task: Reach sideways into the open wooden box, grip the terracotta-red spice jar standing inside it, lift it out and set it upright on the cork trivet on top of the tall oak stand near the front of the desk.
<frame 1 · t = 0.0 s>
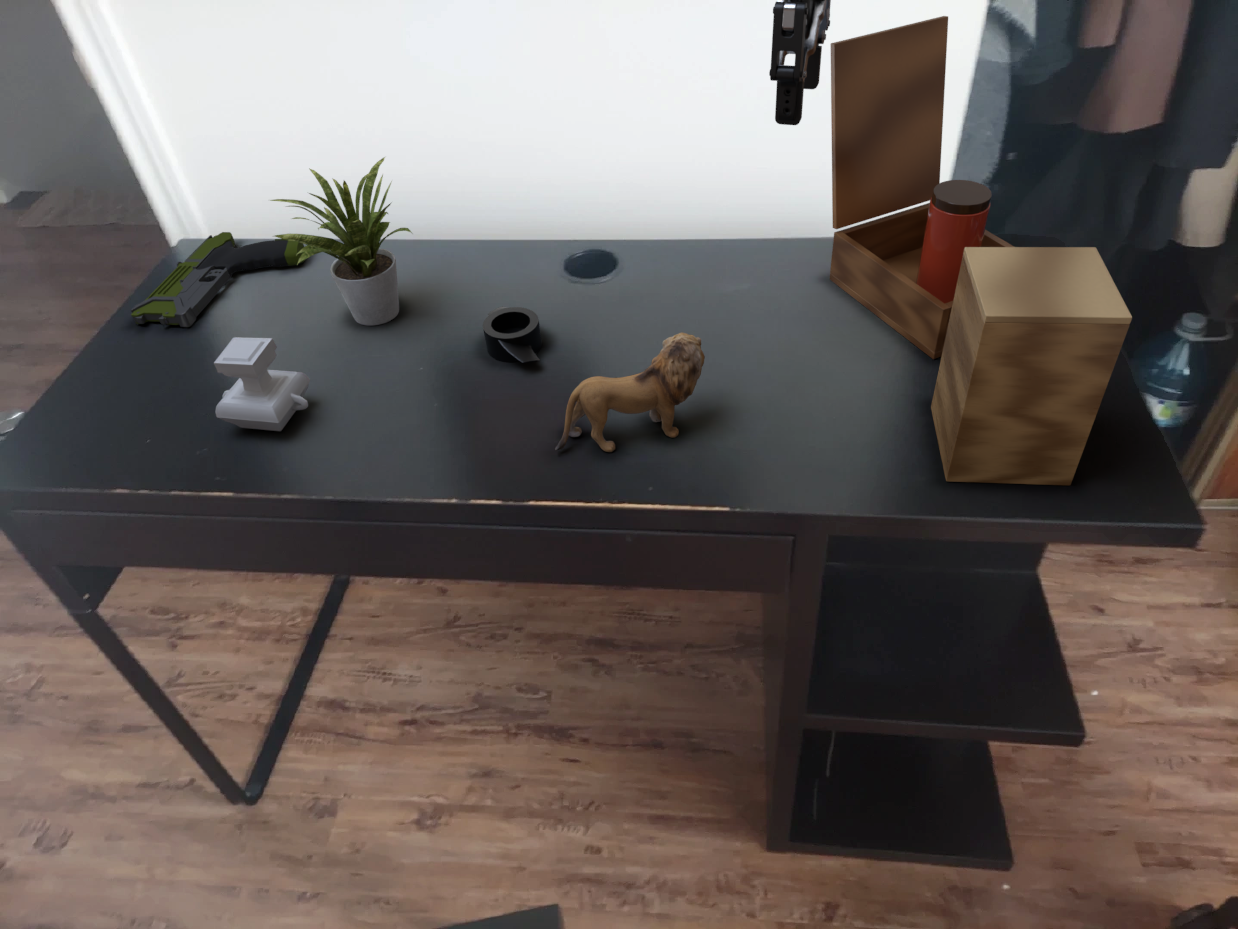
hand: (797, 104, 83), 22 cm above the table, tool pointing down, fingers open, 8 cm apart
wooden box: (930, 298, 98), on the table
box lid: (877, 123, 96), point 15 cm above the table, hinge at 100.0°
gun: (228, 286, 110), on the table
stamp: (273, 419, 90), on the table
oak stand: (996, 444, 81), on the table
house plant: (377, 307, 104), on the table
spice jar: (940, 298, 97), point 1 cm above the table, touching wooden box
duct tape: (514, 347, 97), on the table
lion figurine: (635, 430, 85), on the table
cork trivet: (1041, 286, 70), resting on oak stand
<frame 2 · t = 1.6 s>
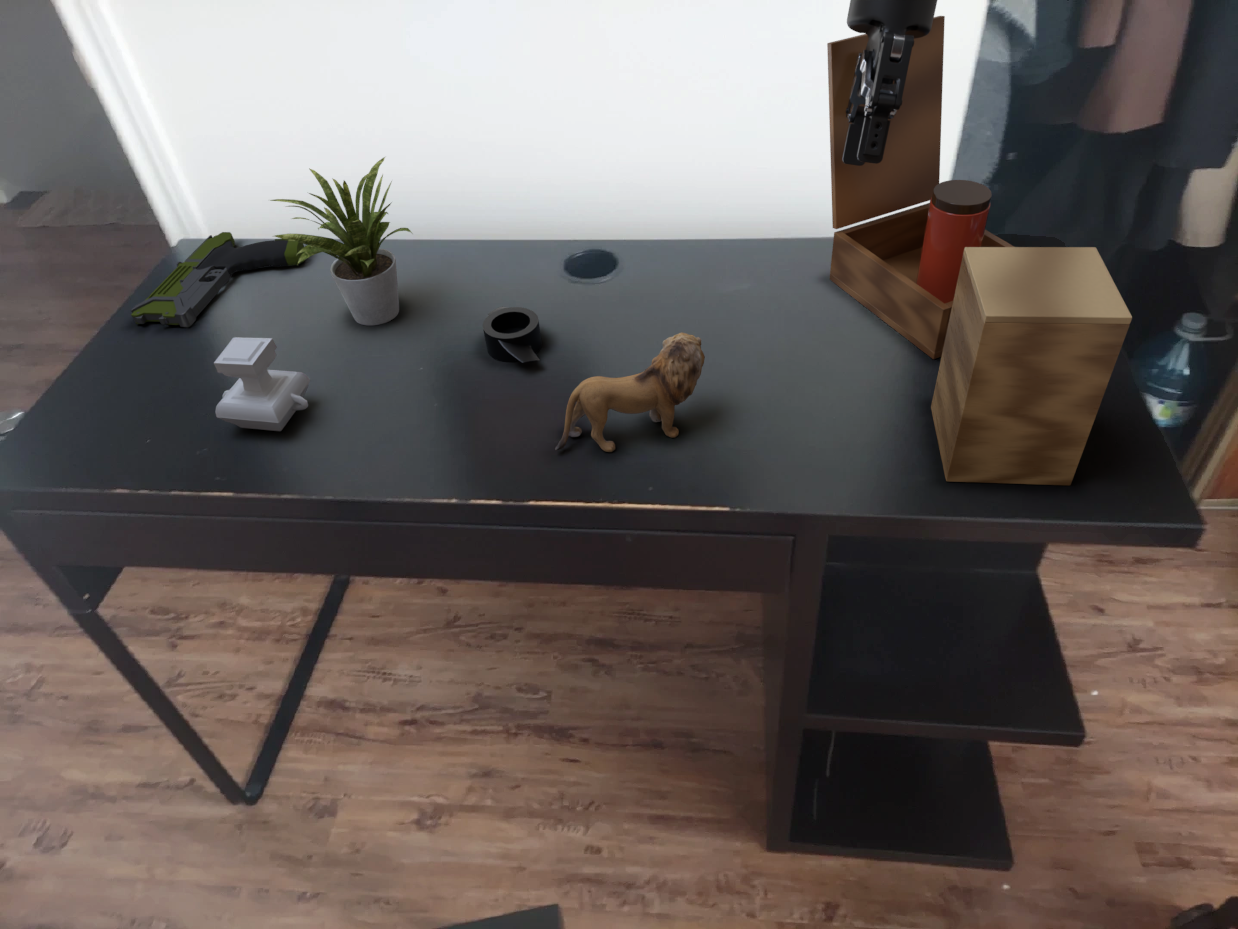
hand: (860, 163, 86), 16 cm above the table, tool tilted 25°, fingers open, 8 cm apart
box lid: (875, 123, 97), point 15 cm above the table, hinge at 101.7°
everything else where it was.
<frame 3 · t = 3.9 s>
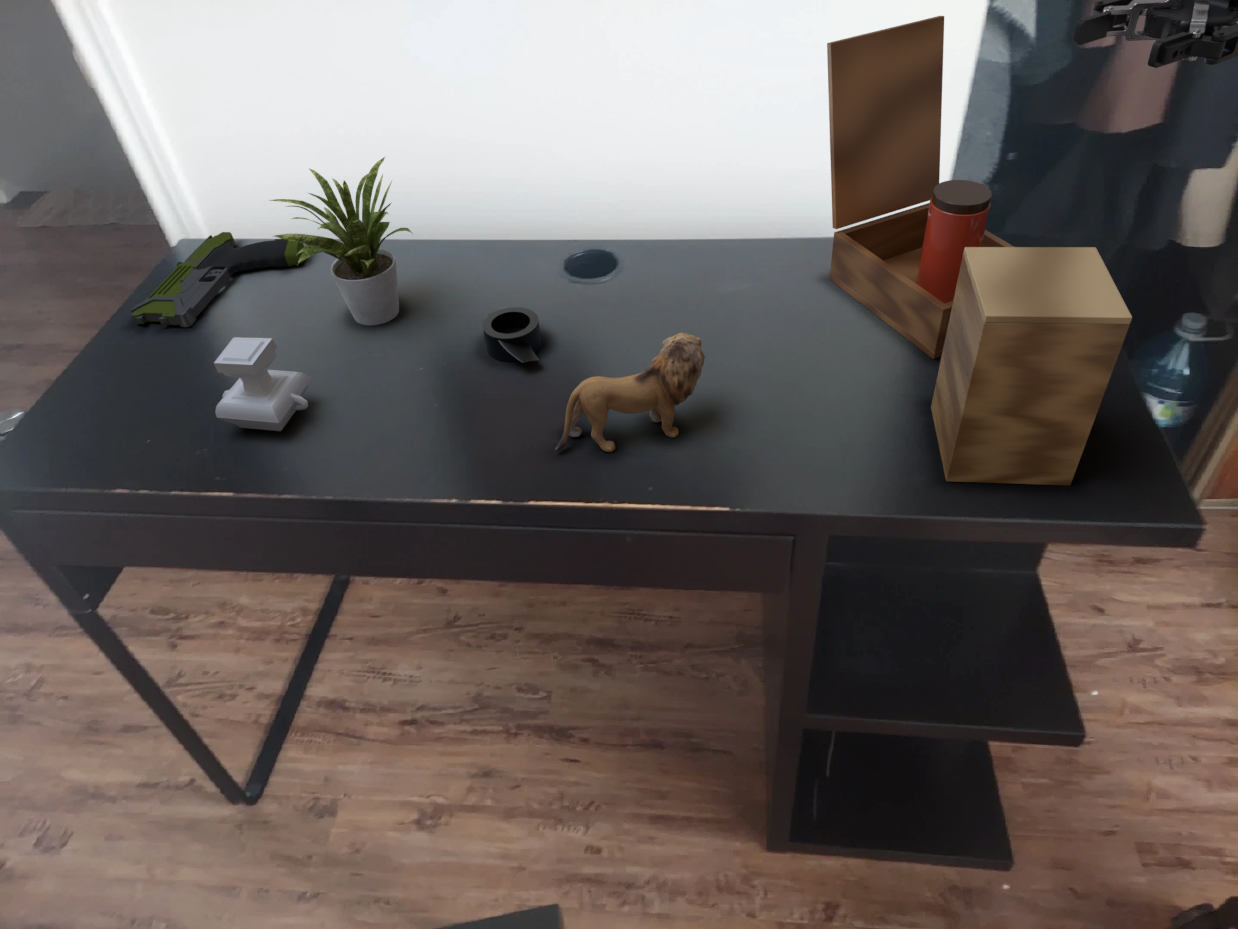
hand: (1113, 43, 85), 24 cm above the table, tool horizontal, fingers open, 8 cm apart
nothing on the table moved.
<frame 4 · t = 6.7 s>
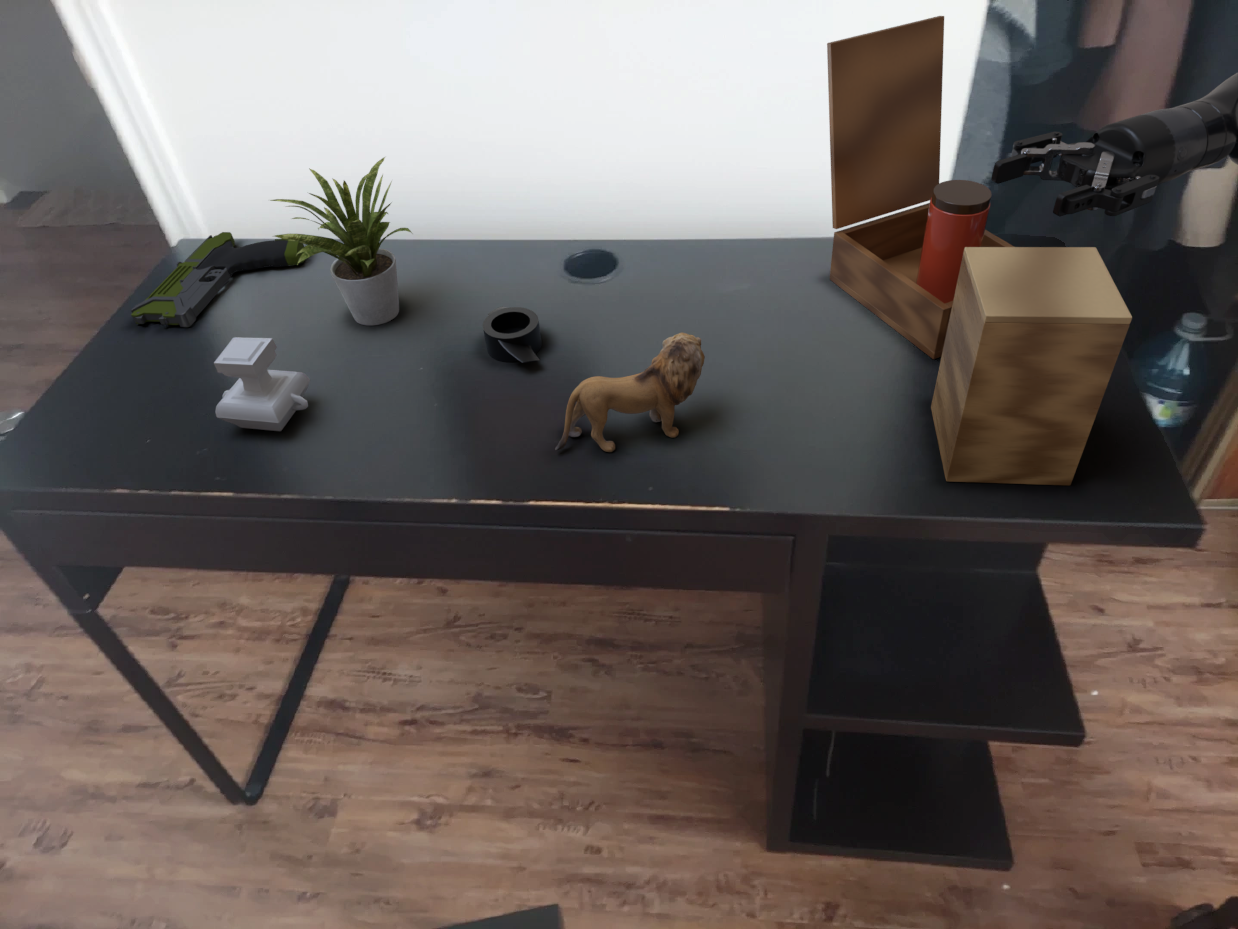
hand: (1024, 188, 92), 11 cm above the table, tool horizontal, fingers open, 8 cm apart
nothing on the table moved.
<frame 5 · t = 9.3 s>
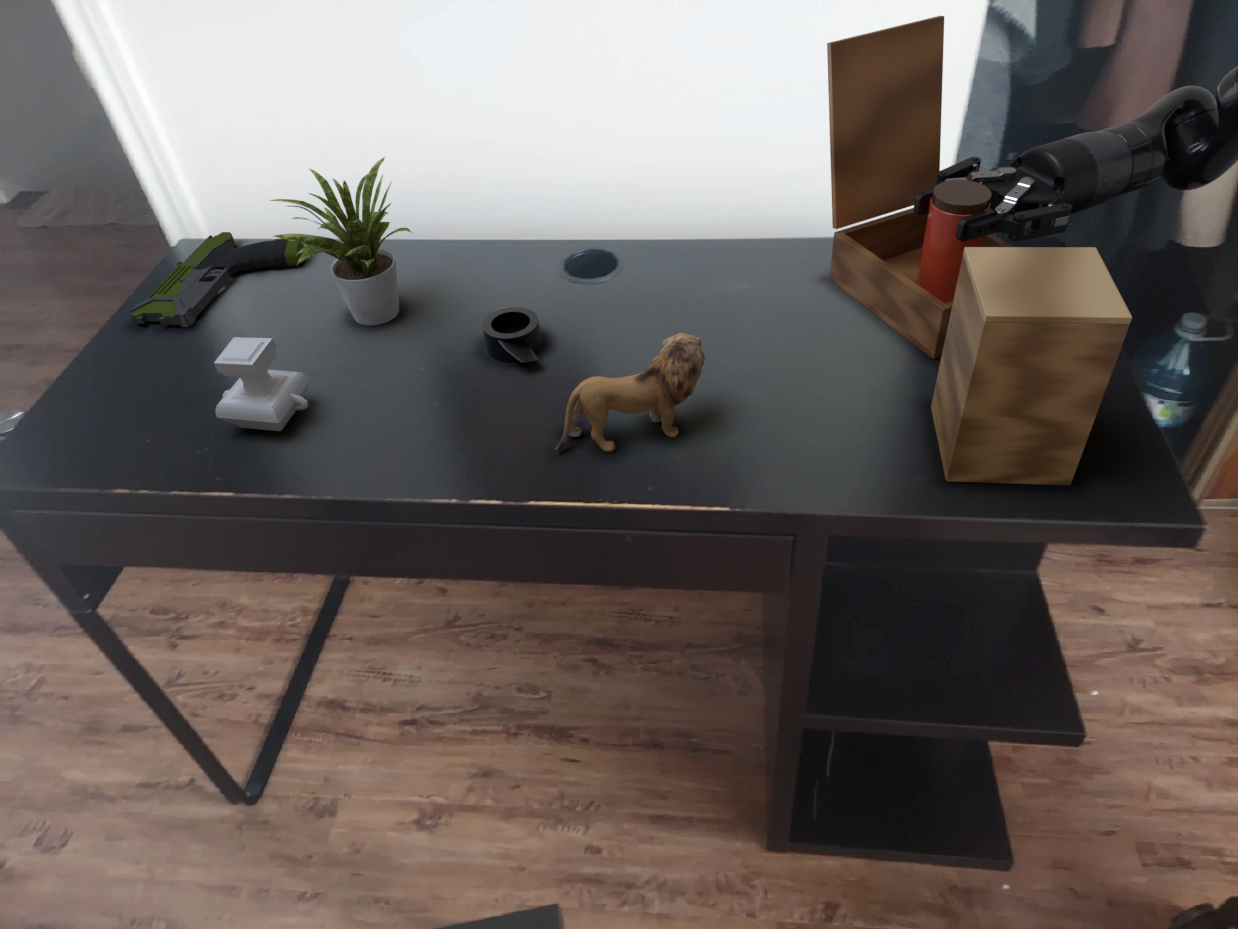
hand: (937, 217, 89), 11 cm above the table, tool horizontal, fingers closed on spice jar, 5 cm apart
spice jar: (940, 298, 97), point 1 cm above the table, touching gripper, wooden box
everything else where it was.
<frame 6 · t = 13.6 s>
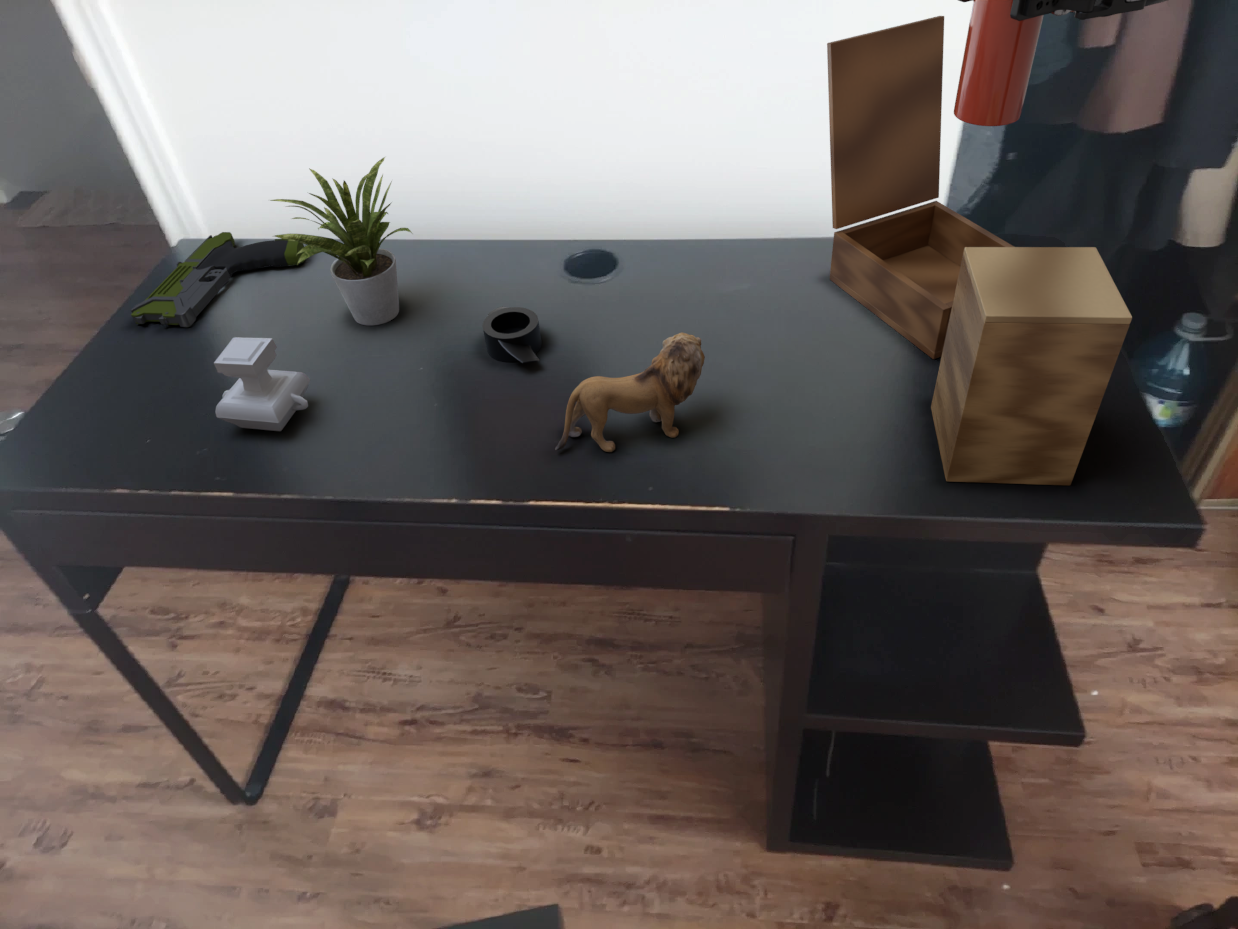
spice jar: (986, 113, 81), point 21 cm above the table, touching gripper
everything else where it was.
when the fingers open (27 cm above the table, at t = 18.2 s): spice jar stays where it is, resting on cork trivet.
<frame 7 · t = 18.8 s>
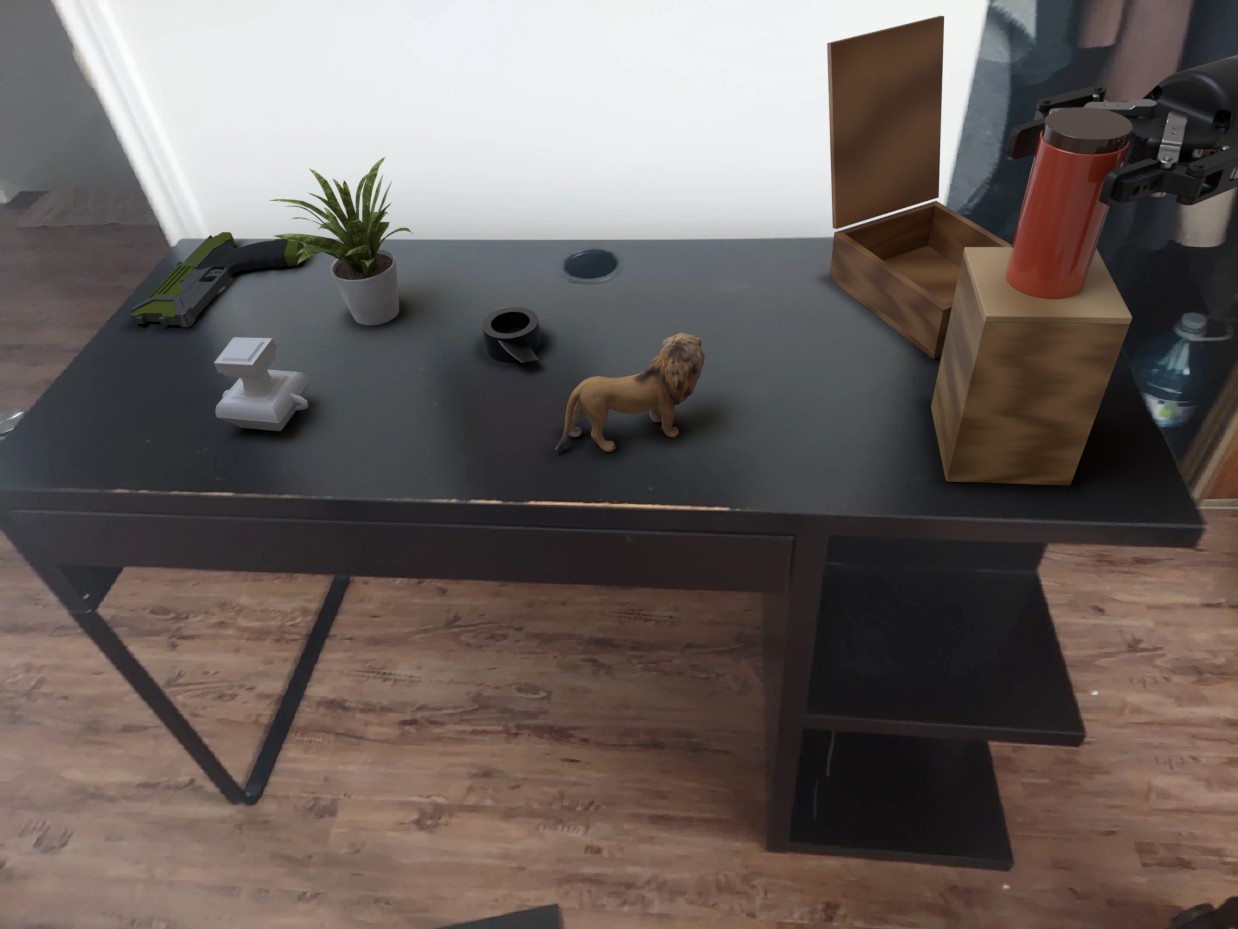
hand: (1056, 165, 62), 26 cm above the table, tool horizontal, fingers open, 8 cm apart
spice jar: (1044, 279, 69), point 17 cm above the table, touching cork trivet
everything else where it was.
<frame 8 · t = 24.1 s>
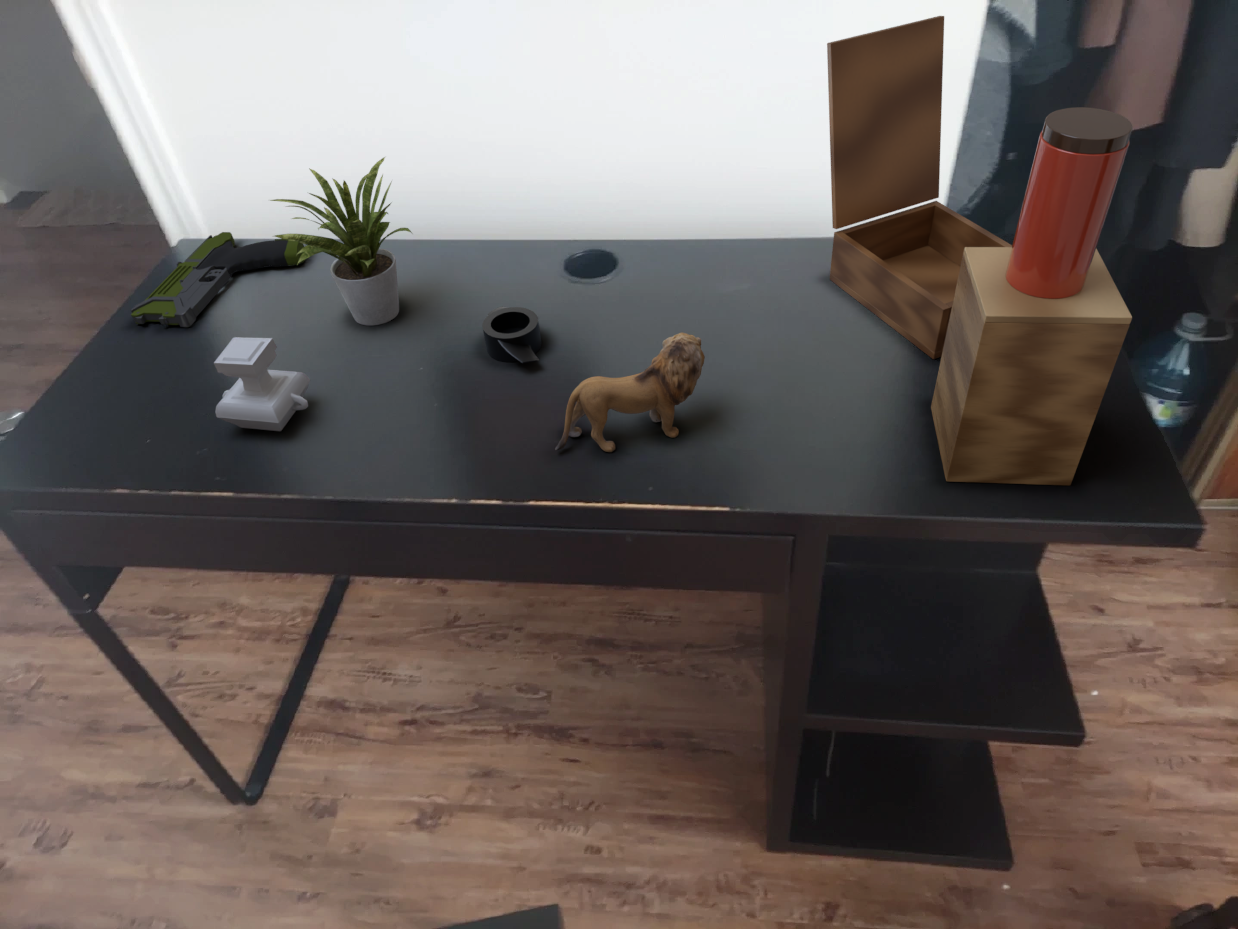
nothing on the table moved.
at the end: spice jar inside the target area on the cork trivet (0.1 cm from its centre), point 0.6 cm above the cork trivet's base; spice jar tilted 0°; the gripper is holding nothing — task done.
